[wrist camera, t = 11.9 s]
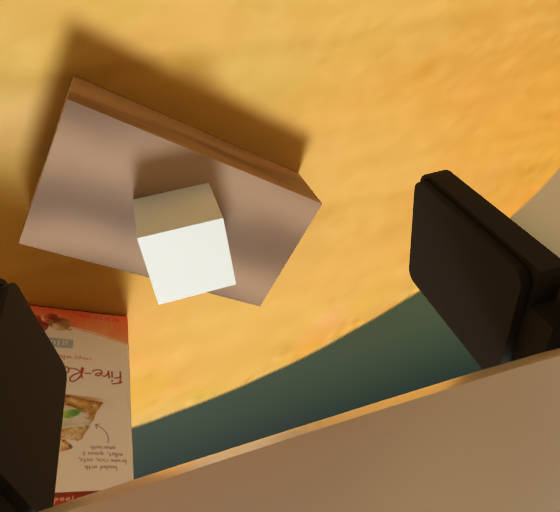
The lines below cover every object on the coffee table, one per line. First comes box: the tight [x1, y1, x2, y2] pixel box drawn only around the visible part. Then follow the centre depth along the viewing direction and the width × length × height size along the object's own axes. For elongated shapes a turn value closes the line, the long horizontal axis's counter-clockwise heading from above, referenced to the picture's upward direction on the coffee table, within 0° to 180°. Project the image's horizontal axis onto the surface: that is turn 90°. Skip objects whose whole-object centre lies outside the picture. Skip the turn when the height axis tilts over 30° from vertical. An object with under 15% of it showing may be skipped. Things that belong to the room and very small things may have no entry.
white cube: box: [133, 183, 236, 305], centre depth 31 cm, size 5×5×5 cm
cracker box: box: [29, 305, 133, 507], centre depth 32 cm, size 14×6×21 cm, turn 68°
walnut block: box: [19, 75, 322, 306], centre depth 35 cm, size 10×18×6 cm, turn 61°
